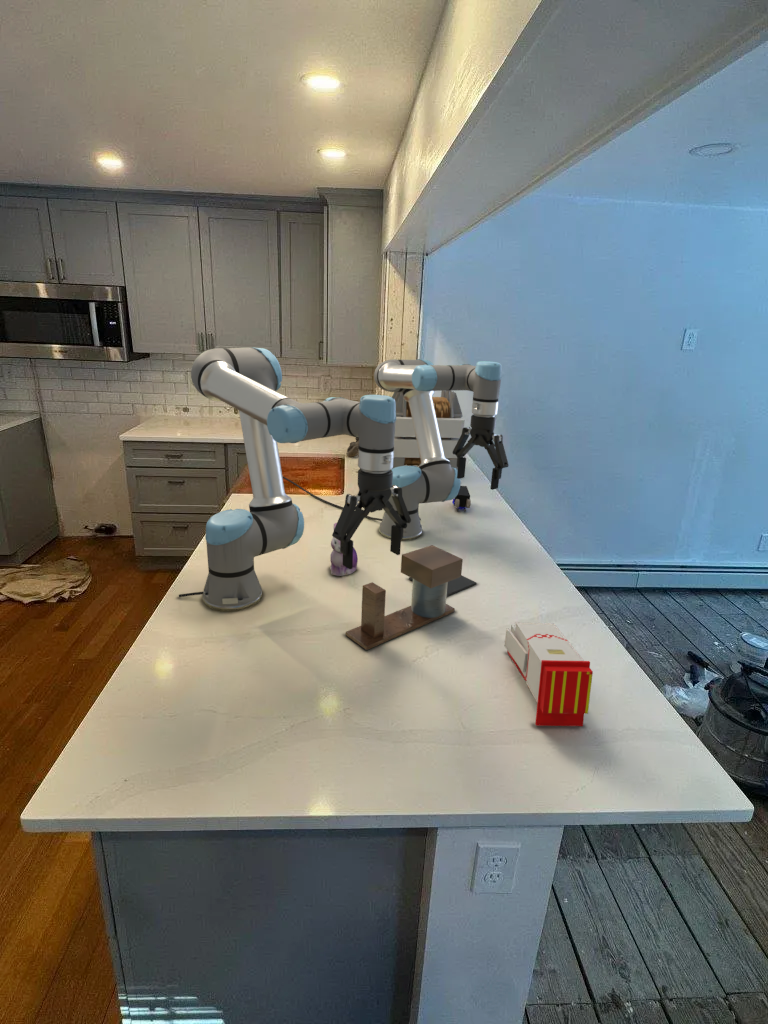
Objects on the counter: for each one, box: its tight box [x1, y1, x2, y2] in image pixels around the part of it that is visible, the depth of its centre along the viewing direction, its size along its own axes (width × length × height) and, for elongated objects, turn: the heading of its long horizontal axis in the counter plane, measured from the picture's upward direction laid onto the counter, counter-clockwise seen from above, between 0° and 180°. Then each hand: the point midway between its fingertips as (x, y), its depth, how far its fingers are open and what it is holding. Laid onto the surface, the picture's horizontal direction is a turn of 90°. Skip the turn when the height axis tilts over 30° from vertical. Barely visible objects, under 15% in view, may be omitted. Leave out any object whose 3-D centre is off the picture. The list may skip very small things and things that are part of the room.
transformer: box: [391, 390, 465, 470], centre depth 268 cm, size 34×33×41 cm
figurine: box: [329, 522, 359, 577], centre depth 168 cm, size 9×10×15 cm
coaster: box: [408, 574, 477, 597], centre depth 166 cm, size 14×14×1 cm
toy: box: [503, 622, 594, 727], centre depth 121 cm, size 12×13×30 cm
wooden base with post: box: [345, 579, 455, 651], centre depth 141 cm, size 30×9×13 cm, turn 131°
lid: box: [400, 544, 464, 588], centre depth 144 cm, size 11×11×5 cm
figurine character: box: [451, 485, 472, 513], centre depth 228 cm, size 7×8×15 cm
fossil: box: [346, 437, 359, 458], centre depth 305 cm, size 22×10×15 cm
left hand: (372, 559), depth 128 cm, fingers open, 13 cm apart
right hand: (476, 483), depth 176 cm, fingers open, 13 cm apart
